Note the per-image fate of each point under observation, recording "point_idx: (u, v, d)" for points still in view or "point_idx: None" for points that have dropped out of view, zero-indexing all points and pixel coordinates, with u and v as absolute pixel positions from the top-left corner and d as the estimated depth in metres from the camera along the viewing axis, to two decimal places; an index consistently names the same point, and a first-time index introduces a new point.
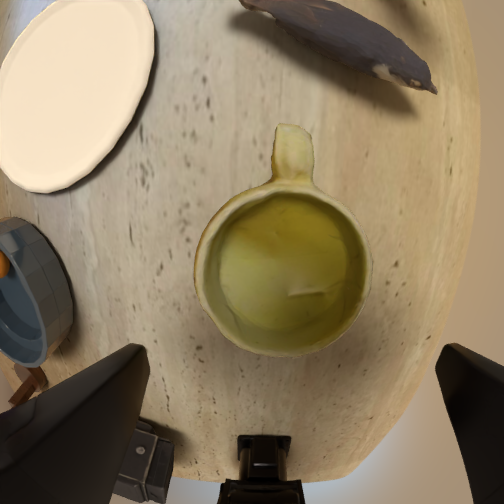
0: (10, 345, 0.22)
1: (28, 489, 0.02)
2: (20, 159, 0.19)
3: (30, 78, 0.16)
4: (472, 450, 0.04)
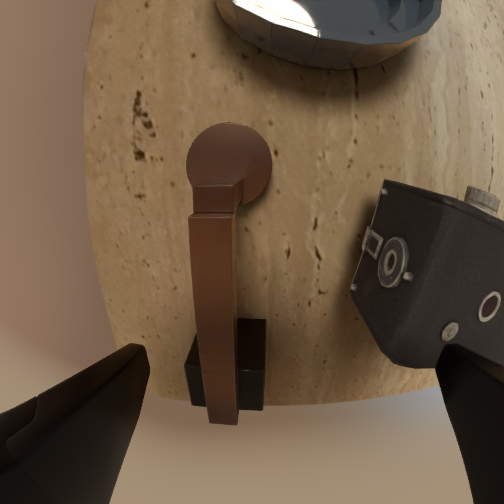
0: None
1: (28, 489, 0.02)
2: None
3: None
4: (472, 450, 0.04)
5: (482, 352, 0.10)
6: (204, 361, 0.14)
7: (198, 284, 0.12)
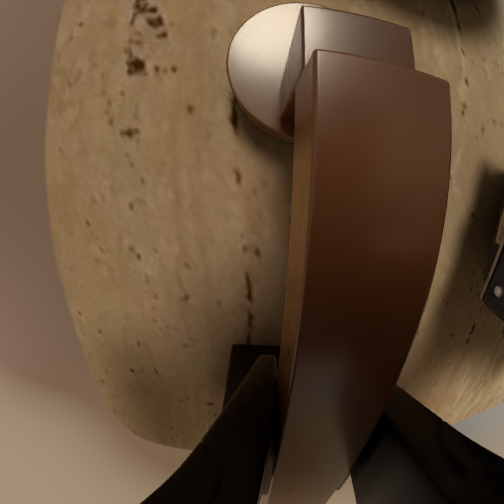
0: None
1: None
2: None
3: None
4: (360, 486, 0.04)
5: None
6: (283, 475, 0.05)
7: (324, 310, 0.03)
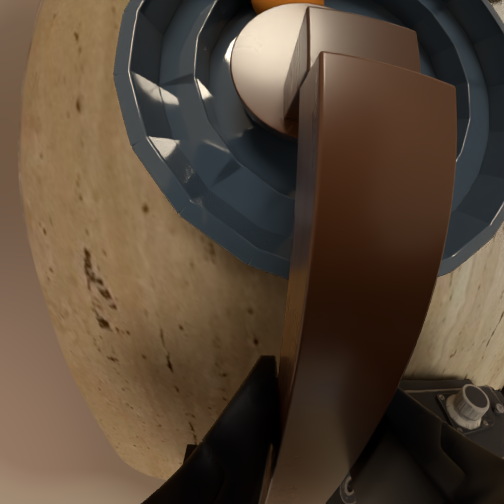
0: (277, 241, 0.09)
1: None
2: None
3: None
4: (360, 486, 0.04)
5: None
6: (283, 477, 0.05)
7: (326, 314, 0.03)
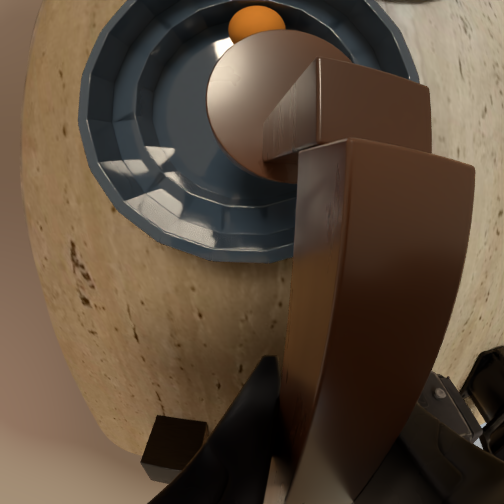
0: (186, 228, 0.13)
1: None
2: None
3: None
4: None
5: None
6: None
7: (335, 405, 0.03)
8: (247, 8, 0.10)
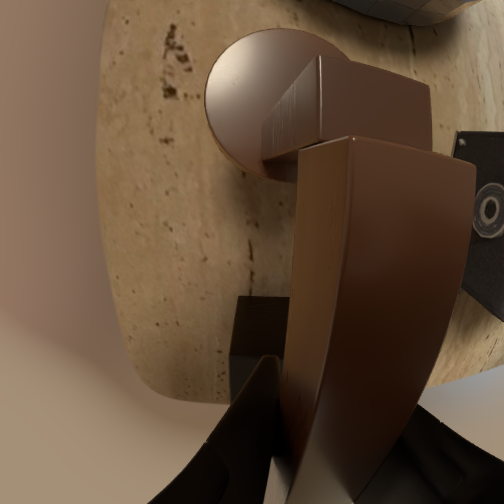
0: None
1: None
2: None
3: None
4: None
5: None
6: None
7: (337, 406, 0.03)
8: None
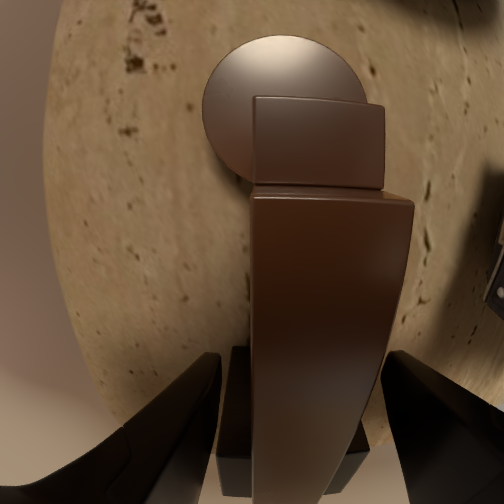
0: None
1: None
2: None
3: None
4: (413, 473, 0.04)
5: None
6: (261, 503, 0.05)
7: (271, 410, 0.04)
8: None
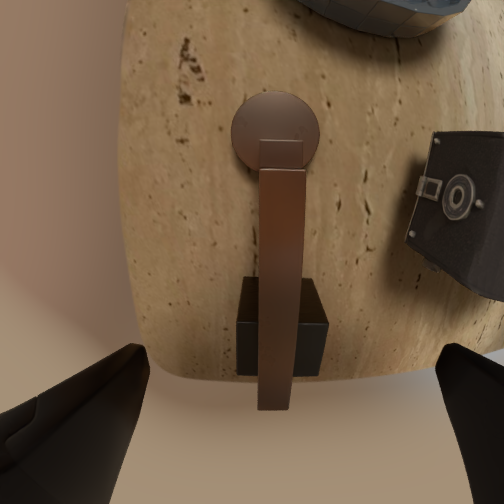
0: None
1: (28, 489, 0.02)
2: None
3: None
4: (472, 450, 0.04)
5: None
6: (263, 336, 0.13)
7: (266, 244, 0.11)
8: None
